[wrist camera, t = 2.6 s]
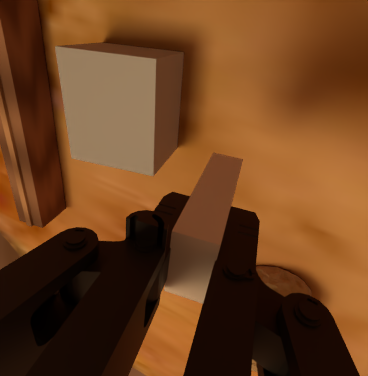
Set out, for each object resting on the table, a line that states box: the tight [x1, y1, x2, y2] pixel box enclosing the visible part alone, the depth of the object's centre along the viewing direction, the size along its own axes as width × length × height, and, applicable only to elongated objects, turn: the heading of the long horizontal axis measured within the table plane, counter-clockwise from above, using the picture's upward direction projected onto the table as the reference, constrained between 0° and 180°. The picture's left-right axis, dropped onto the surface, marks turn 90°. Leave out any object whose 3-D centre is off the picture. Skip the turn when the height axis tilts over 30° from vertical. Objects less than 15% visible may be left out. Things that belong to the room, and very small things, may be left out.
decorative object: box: [251, 266, 312, 373], centre depth 29 cm, size 9×10×10 cm
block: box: [55, 43, 184, 176], centre depth 22 cm, size 8×7×6 cm
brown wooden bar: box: [0, 0, 66, 228], centre depth 24 cm, size 30×3×4 cm, turn 173°
